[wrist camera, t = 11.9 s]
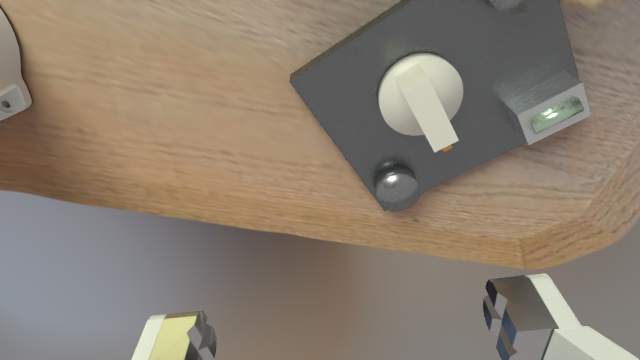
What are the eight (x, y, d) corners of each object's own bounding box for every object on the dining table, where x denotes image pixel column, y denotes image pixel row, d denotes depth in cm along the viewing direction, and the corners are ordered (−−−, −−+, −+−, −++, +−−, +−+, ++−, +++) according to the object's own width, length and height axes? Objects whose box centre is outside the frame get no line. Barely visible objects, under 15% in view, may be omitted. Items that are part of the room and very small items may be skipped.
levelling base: (382, 200, 49) (389, 232, 44) (290, 74, 39) (287, 97, 34) (576, 104, 41) (611, 129, 36) (525, -82, 31) (563, -81, 27)
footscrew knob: (363, 81, 37) (370, 105, 33) (440, 35, 35) (459, 54, 30) (410, 160, 43) (421, 190, 38) (479, 126, 40) (500, 153, 36)
